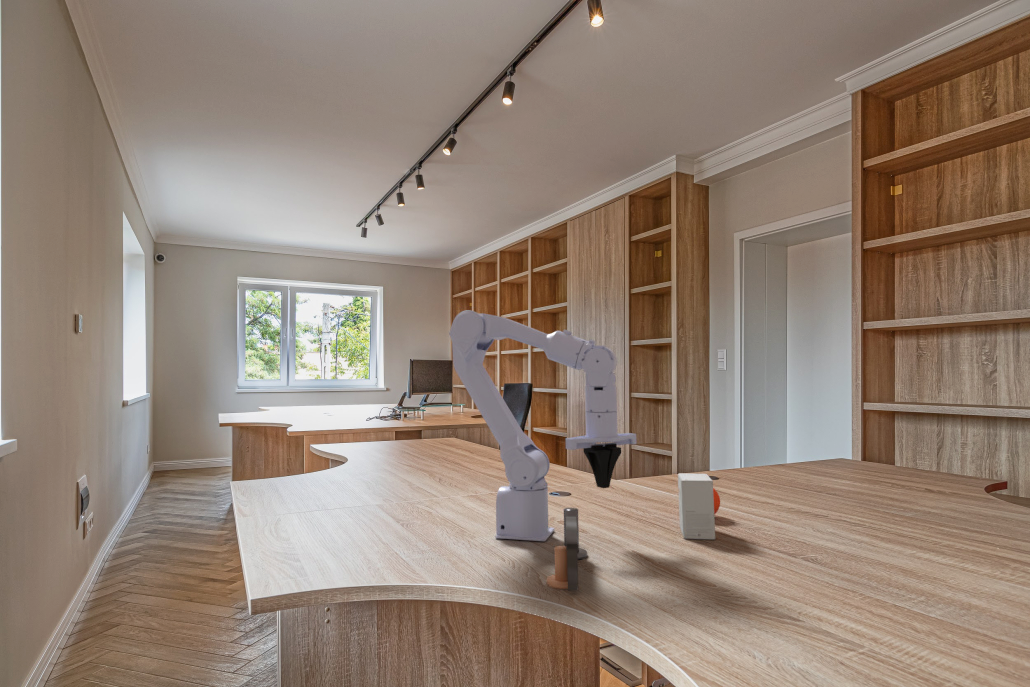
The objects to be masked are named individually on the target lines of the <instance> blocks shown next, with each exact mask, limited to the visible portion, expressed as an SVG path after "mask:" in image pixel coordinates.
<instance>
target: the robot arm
mask: <svg viewBox="0 0 1030 687" xmlns="http://www.w3.org/2000/svg"><path fill="white" fill-rule="evenodd" d="M448 335H449V336H450V337H449V338H450V340H451V345H452V346H451V348H452V363H453V364H452V366H453V368H454V370H455V372H456V374H457V376H458V378H459V379H460V381H461V383H462V385H463V386H464V388H465V389H466V391H467V393H468V395H469V396H470V398H471V399H472V401H473V403H474V405H475V407H476V408H477V410H478V412H479V413H480V415H481V417H482V418H483V420H484V422H485V423H486V425H487V426H488V428H489V431H490V432H491V433H492V435H493V437H494V439H495V440H496V442H497V444H498V445H499V449H500V451H499V454H500V455H499V456H500V459H501V461H502V462H503V465H504V467H505V468H504V469H505V470H504V472H505V476H506V479H507V481H508V482H509V483H508V484H509V485H507V486H505V485H501V486H499V488H498V490H497V493H496V498H495V518H496V519H495V520H496V522H495V523H496V524H495V525H496V526H495V528H496V529H495V530H496V531H495V532H496V534H495V536H494V537H495V539H504V540H517V541H519V540H520V541H530V542H531V541H535V542H546V541H547V540H548V538H549V537H550V536H551V535H552V534H553V533H554V531H555V527H552V526H551V527H549V493H548V492H549V490H548V485H549V484H548V482H547V481H546V479H545V477H546V476H547V475H548V473H549V470H550V459H549V457H548V455H547V454H546V452H545V451H543V450H542V449H540V448H539V447H538V446H537V445H536V443H535V442H534V441H533V439H531V438H530V436H528V435H527V434H526V433H525V432H524V431H523V430H522V427H521V426H520V425H519V423H518V421H517V419H516V418H515V416H514V414H513V412H512V411H511V410H510V408H509V407H508V405H507V403H506V401H505V400H504V398H503V396H502V395H501V393H500V391H499V390H498V388H497V386H496V385H495V383H494V381H493V379H492V378H491V376H490V374H489V373H488V371H487V370H486V368H485V367H484V364H483V363H484V361H485V357H486V354H487V351H488V350H489V348H490V347H491V346H492V344H493V343H494V341H495V340H497V341H501V340H504V339H510V340H514V341H517V342H519V343H522V344H525V345H528V346H531V347H533V348H537V349H540V350H543V352H544V354H545V356H546V359H548V360H549V361H553V362H555V363H558V364H561V365H563V366H566V367H569V368H571V369H575V370H577V371H581V370H583V371H584V374H585V386H584V400H585V401H584V402H585V404H584V405H585V435H579V436H573V437H565V449H566V450H570V451H576V450H580V449H581V450H583V454H584V456H585V457H586V459H587V460H588V463H589V465H590V468H591V470H592V473H593V476H594V480H595V483H596V484H595V485H596V487H597V488H600V489H608V488H610V486H611V480H612V476H613V473H614V469H615V466H616V464H617V462H618V460H619V458H620V456H621V454H622V447H620V446H623V445H637V443H638V442H637V433H631V432H625V433H623V432H622V433H619V432H618V399H617V397H618V396H617V395H618V394H617V388H618V387H617V385H616V380H617V378H616V373H615V370H616V369H617V366H618V359H617V356H616V353H615V352H614V351H613V350H612V349H611V348H609V347H607V346H606V345H596V340H594V339H589V340H586V339H584V338H581V337H578V336H576V335H573V333H572V331H571V330H568V329H563V331H562V330H555V331H554V332H552V333H546V332H543V331H540V330H538V329H536V328H533V327H531V326H528V325H525V324H523V323H520V322H517V321H515V320H512V319H510V318H506V317H503V316H498V315H494V314H489V313H479V312H476V311H474V310H469V309H468V310H467V309H466V310H463V311H460V312H459V313H458V314H456V315H455V317H454V319H453V321H452V324H451V327H450V330H449V332H448ZM618 446H619V447H618Z"/></svg>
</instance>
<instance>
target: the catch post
mask: <svg viewBox="0 0 1030 687" xmlns="http://www.w3.org/2000/svg"><path fill="white" fill-rule="evenodd" d="M546 585H547V586H548V587H549V588H552V589H556V590H568V572H567V550H566V546H564V545H558V546H557V545H556V546H555V547H554V574H552V575H549V576H547V577H546Z"/></svg>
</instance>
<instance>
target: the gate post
mask: <svg viewBox="0 0 1030 687" xmlns="http://www.w3.org/2000/svg"><path fill="white" fill-rule="evenodd" d="M566 517H576V523H577V537H578V550H577V556H578V561H580V560H584V559H586V558H587V557H588V550H586V549H585V548H582V547H580V537H579V536H580V535H579V534H580V532H579V531H580V530H579V526H580V525H579V508H577V507H565V508H563V544H564V545H563V546H566Z"/></svg>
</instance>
